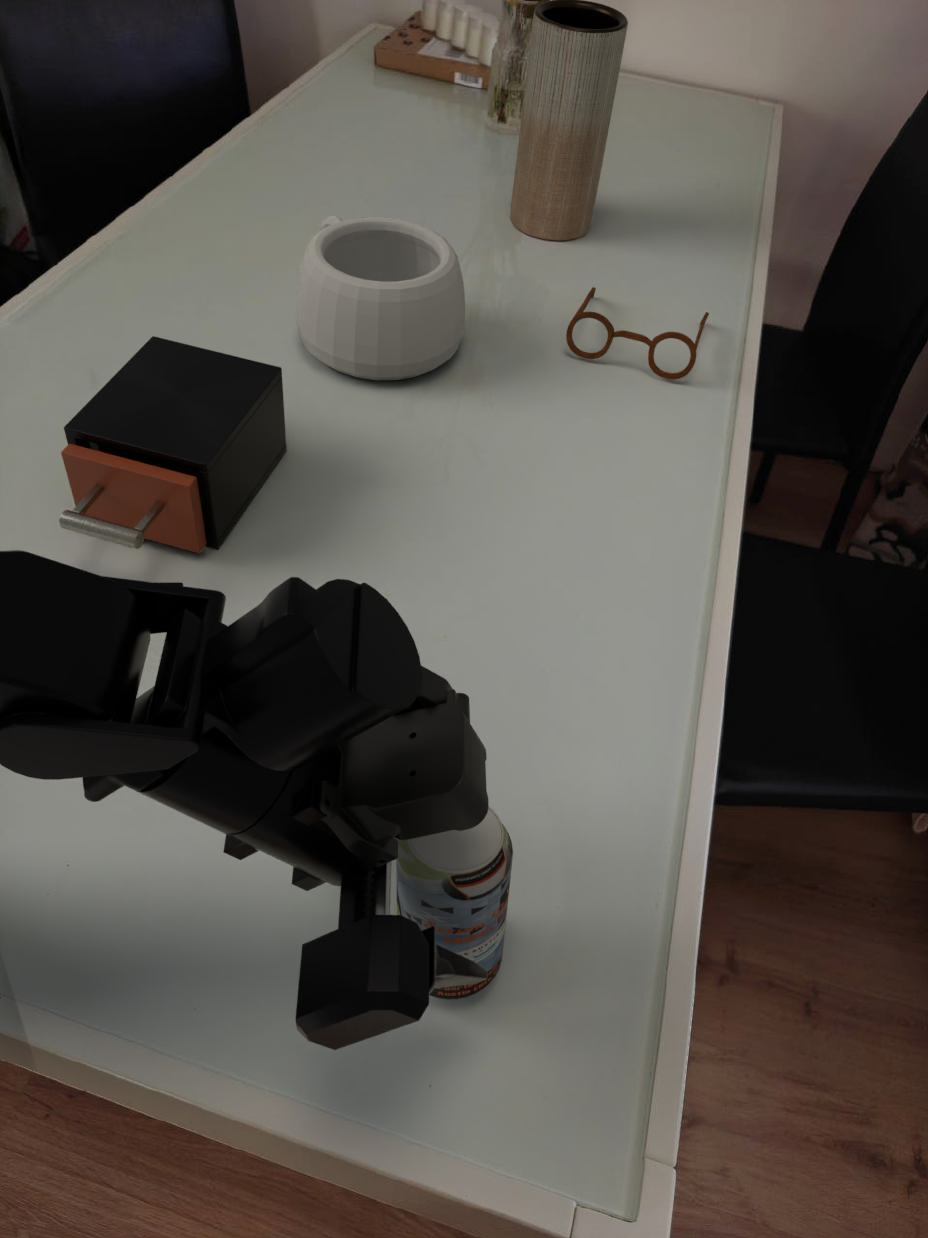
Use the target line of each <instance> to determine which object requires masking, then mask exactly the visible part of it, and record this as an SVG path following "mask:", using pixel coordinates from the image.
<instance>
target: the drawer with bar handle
mask: <svg viewBox="0 0 928 1238" xmlns="http://www.w3.org/2000/svg"><path fill="white" fill-rule="evenodd" d="M89 444H90V448H91V449H89V448H85V447H81V446H77V445H74V444H68V443H67V445H66V446H65V447H64V449H62V450H61V452H60V455H61V457H62V461H63V466H64V469H65V473H66V476H67V481H68V485H69V488H70V491H71V495H72V498H73V501H74V504H75V507H74V508H73V509H72V510H69V509H65V510H64V511H63V512H62V513H61V514H60V516H59V521H58V522H59V527H60V528H61V529H63V530H66V531H70V532H75V533H78V534H81V535H85V536H88V537H92V538H96V539H100V540H103V541H105V542H106V541H107V542H110V543H114V544H117V545H122V546H124V547H128V548H132V549H136V550H139V549H141V548H142V547H143V544H144V541H145V540H150V541H153V542H157V543H161V544H164V545H168V546H172V547H174V548H179V549H182V550H186V551H190V552H194V553H197V554H201V553H202V551H203V550H204V549H205V547H206V544H207V542H206V536H205V529H204V528H206V520H205V513H204V507H203V500H202V493H201V486H200V479H199V473H198V470H194V469H191V468H187V467H183V466H179V465H175V464H172V463H168V462H164V461H160V460H156V459H153V458H149V457H145V456H141V455H137V454H134V453H130V452H126V451H122V450H118V449H115V448H111V447H107V446H103V445H99V444H96V443H92V442H89Z"/></svg>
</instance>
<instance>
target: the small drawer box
mask: <svg viewBox="0 0 928 1238" xmlns="http://www.w3.org/2000/svg"><path fill="white" fill-rule="evenodd" d="M282 369H283V368H282V367H281V366H278V365H277V366H276V365H273V364H269V363H265V362H262V361H261V362H260V361H256V360H252V359H249V358H245V357H244V358H243V357H240V356H236V355H232V354H228V353H223V352H219V351H216V350H211V349H207V348H203V347H199V346H195V345H191V344H187V343H183V342H179V341H175V340H171V339H168V338H163V337H159V336H154V335H152V336H151V337H150V338H149V339H148V340H147V341H146V342H145V343H144V344H143V345H142V346H141V348H139V349H138V350H137V351H136V352H135V354H134V355H132V357H131V358H129V360H128V361H126V363H125V364H124V365H123V366H121V368H119V370H118V371H117V372H116V373H115V374H114V375H113V376H112V377H111V378H110V379H109V380H108V381H107V382H106V383H105V385H103V387H101V389H100V390H98V391H97V392H96V393H95V394H94V396H93V397H92V398H91V399H90V400H89V401H88V402H86V404H85V405H84V406H83V407H81V409H80V410H79V411H78V412H77V413H76V414H75V415H74V416H73V417H72V418H71V419H70V420H69V421H68V422H67V423H66V424H65V425H64V426H63V430H64V435H65V439H66V442H67V445H68V444H74V445H77V446H81V447H85V448H89V449H91V448H90V444H89V442H92V443H96V444H99V445H103V446H107V447H111V448H115V449H118V450H122V451H126V452H130V453H134V454H137V455H141V456H145V457H149V458H153V459H156V460H160V461H164V462H168V463H172V464H175V465H179V466H183V467H187V468H191V469H194V470H198V473H199V479H200V486H201V493H202V500H203V507H204V513H205V520H206V528H204V529H205V536H206V542H207V544H206V546H205V547H207V548H210V549H214V550H217V551H218V550H219V549H220V548H221V546H222V545H223V544H224V542H225V541H226V539H227V538H228V536H229V535H230V534H231V532H232V531H233V530H234V528H235V527H236V525H237V524H238V522H239V520H240V519H241V518H242V517H243V515H244V513H245V512H246V510H247V509H248V508H249V506H250V505H251V503H252V502H253V500H254V499H255V498H256V496H257V495H258V493H259V491H260V490H261V489H262V487H263V486H264V484H265V483H266V481H267V480H268V479H269V477H270V476H271V474H272V473H273V472H274V470H275V469H276V467H277V466H278V464H279V463H280V462H281V460H282V459H283V457H284V456H285V454H286V453H287V451H288V450H287V434H286V433H287V432H286V417H285V403H284V401H285V399H284V386H283V385H284V384H283V370H282Z"/></svg>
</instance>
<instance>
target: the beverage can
mask: <svg viewBox="0 0 928 1238" xmlns="http://www.w3.org/2000/svg"><path fill="white" fill-rule="evenodd" d="M397 840H398V839H397ZM513 857H514V849H513V842H512V839H511V836H510V833H509V832H508V830H507V828H506V827H505V825H504V824H503V822H502V820H501V818H500V816H499V815H498V814H497V812H496V811H495V810H494V809H493V808H492V807H491V806H489V807H488V812H487V815H486V817H485V818H484V820H483V821H482V822H481V823H480V824H478V825H477V826H475V827H473V828H471V829H467V830H463V831H457V830H451V831H446V832H442V833H437V834H432V835H427V836H423V837H418V838H413V839H408V840H398V858H397V859H395V863H396V864H395V866H396V870H395V871H396V876H395V877H396V915H402V916H404V917H406V918H408V919H410V920H412V921H414V922H416V923H418V925H419V927H420V929H421V931H422V930H425V929H427V928H430V927H432V926H434V927H435V928H436V944H437V945H439V946H441V947H443V948H445V949H448V950H450V951H452V952H454V953H456V954H459V955H461V956H463V957H465V958H468V959H470V960H472V961H474V962H475V963H477V964H478V965H480V966H481V967H483V968H484V969H485V970H487V975H488V978H487V979H486V980H484V981H481V982H478V983H475V984H470V985H461V986H452V987H444V988H435V989H433V991H432V992H431V993H430V994H429V997H432V998H437V999H443V1000H458V999H459V1000H460V999H464V998H469V997H470V996H474V995H475V994H477V993H479V992H480V991H482V990H484V989H485V988H486V987H487V986H489V984H491V983H492V982H493V980H494V979H495V978H496V976H497V974H498V972H499V970H500V969H501V965H502V962H503V953H504V943H505V942H504V941H505V934H506V923H507V917H508V906H509V898H510V897H509V896H510V886H511V879H512V868H513Z"/></svg>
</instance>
